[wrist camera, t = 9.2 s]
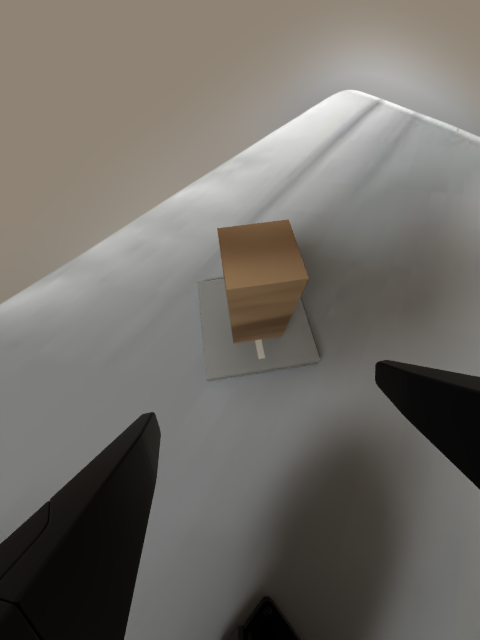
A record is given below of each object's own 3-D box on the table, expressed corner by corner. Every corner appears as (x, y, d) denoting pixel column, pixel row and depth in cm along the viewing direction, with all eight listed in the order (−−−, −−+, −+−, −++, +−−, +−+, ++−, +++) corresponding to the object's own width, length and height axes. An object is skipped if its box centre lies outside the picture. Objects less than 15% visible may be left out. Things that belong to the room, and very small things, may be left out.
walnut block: (282, 336, 20) (308, 278, 12) (233, 343, 20) (226, 289, 12) (271, 294, 22) (288, 219, 14) (227, 300, 22) (217, 228, 14)
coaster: (317, 363, 20) (320, 360, 19) (208, 381, 20) (206, 379, 19) (289, 274, 24) (291, 268, 23) (199, 287, 24) (197, 281, 23)
